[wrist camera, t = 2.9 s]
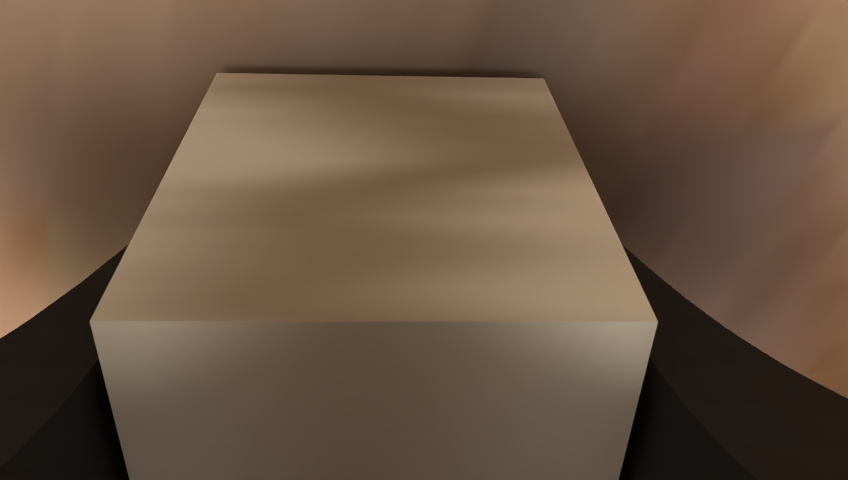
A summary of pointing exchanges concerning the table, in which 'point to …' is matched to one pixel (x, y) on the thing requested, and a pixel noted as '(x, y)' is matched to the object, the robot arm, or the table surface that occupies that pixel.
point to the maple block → (374, 291)
